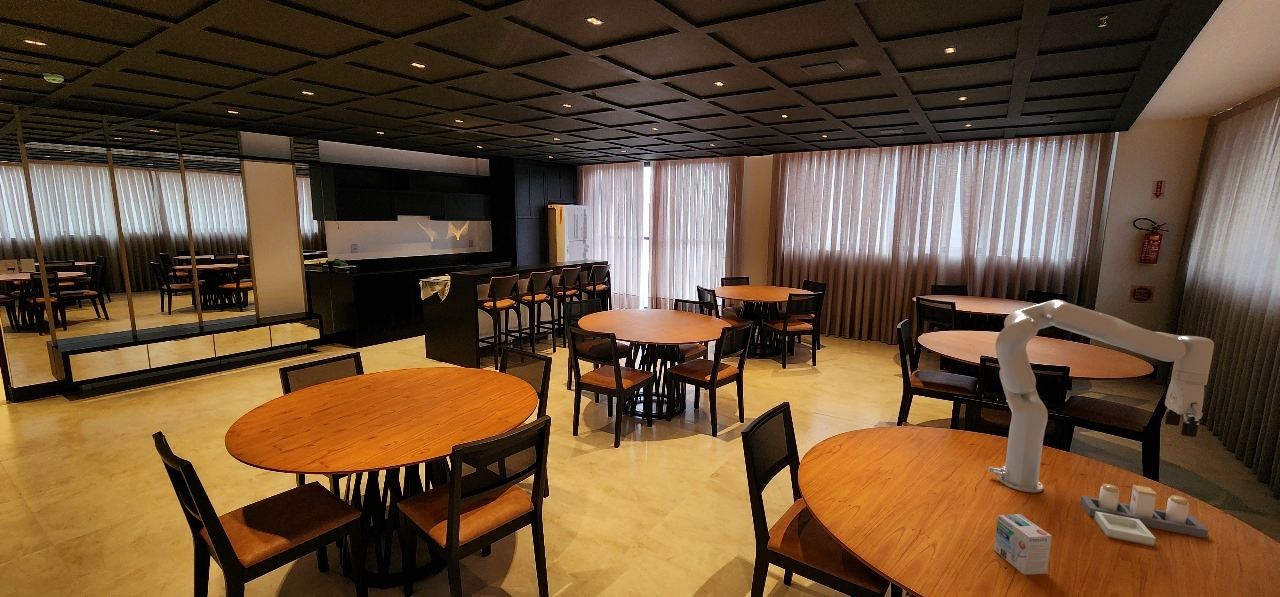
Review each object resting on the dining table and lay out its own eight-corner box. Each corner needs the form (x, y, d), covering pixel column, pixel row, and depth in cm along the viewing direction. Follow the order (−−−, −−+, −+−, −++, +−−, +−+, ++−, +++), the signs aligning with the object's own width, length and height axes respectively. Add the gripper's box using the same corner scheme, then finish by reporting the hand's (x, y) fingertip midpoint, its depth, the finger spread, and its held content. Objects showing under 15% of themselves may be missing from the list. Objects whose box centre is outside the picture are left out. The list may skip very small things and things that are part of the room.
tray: (1107, 536, 151) (1108, 528, 151) (1094, 518, 160) (1095, 511, 160) (1154, 546, 147) (1155, 538, 146) (1138, 527, 156) (1139, 519, 156)
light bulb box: (992, 550, 144) (996, 513, 143) (1015, 549, 145) (1019, 513, 143) (1024, 575, 134) (1029, 537, 132) (1048, 574, 134) (1053, 536, 133)
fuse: (1133, 521, 159) (1138, 490, 158) (1128, 514, 163) (1132, 484, 161) (1151, 524, 157) (1156, 494, 156) (1145, 517, 161) (1150, 487, 160)
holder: (1089, 515, 162) (1090, 508, 162) (1080, 502, 170) (1081, 495, 169) (1206, 538, 151) (1208, 530, 150) (1191, 523, 158) (1193, 516, 158)
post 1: (1100, 515, 162) (1104, 488, 161) (1095, 508, 166) (1098, 481, 165) (1118, 518, 161) (1122, 491, 159) (1112, 511, 164) (1116, 484, 163)
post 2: (1168, 528, 156) (1172, 500, 154) (1161, 520, 160) (1165, 493, 158) (1188, 531, 154) (1192, 503, 153) (1180, 524, 158) (1185, 496, 156)
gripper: (1159, 368, 167) (1150, 418, 169) (1188, 382, 151) (1178, 438, 154) (1190, 371, 164) (1181, 422, 166) (1223, 386, 148) (1212, 443, 151)
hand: (1179, 430), depth 160 cm, fingers open, 9 cm apart
